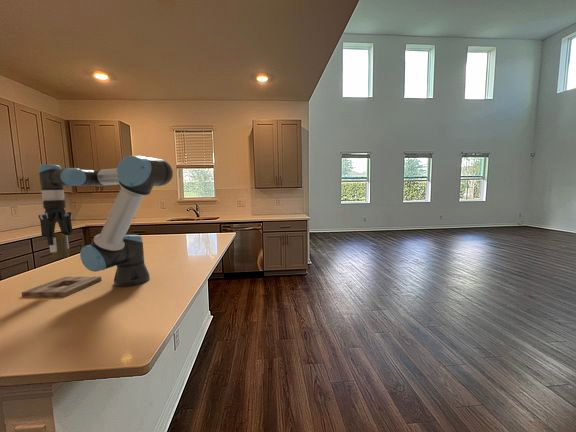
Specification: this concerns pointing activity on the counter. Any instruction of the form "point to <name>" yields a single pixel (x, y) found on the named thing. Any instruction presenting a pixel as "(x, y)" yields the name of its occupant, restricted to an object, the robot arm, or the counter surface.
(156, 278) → the counter surface
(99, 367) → the counter surface
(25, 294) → the walnut board
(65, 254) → the olive tapered block
